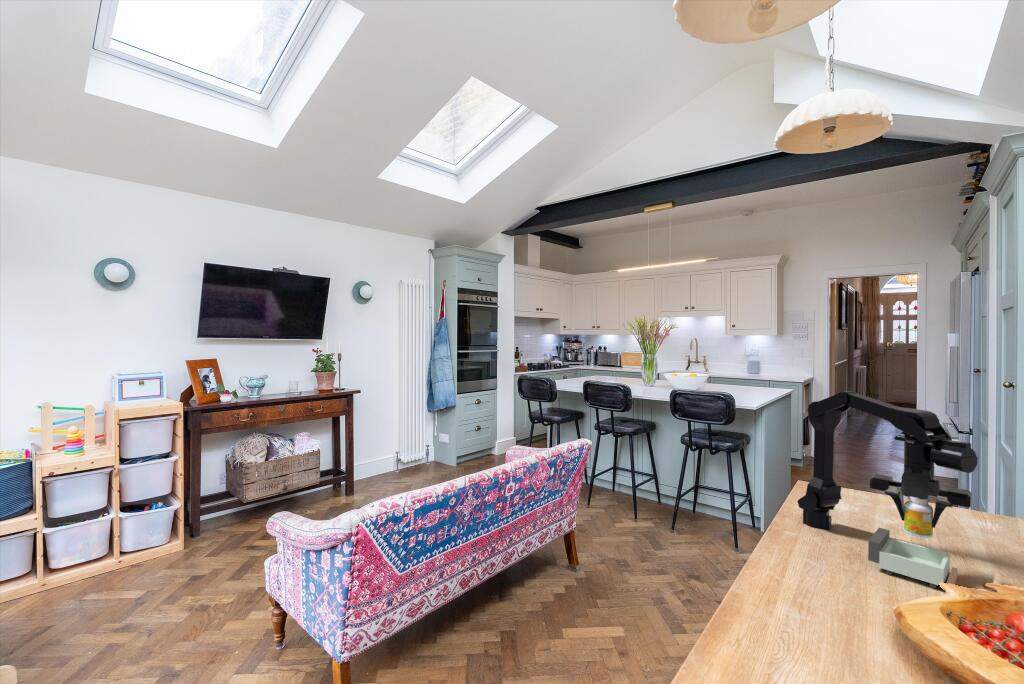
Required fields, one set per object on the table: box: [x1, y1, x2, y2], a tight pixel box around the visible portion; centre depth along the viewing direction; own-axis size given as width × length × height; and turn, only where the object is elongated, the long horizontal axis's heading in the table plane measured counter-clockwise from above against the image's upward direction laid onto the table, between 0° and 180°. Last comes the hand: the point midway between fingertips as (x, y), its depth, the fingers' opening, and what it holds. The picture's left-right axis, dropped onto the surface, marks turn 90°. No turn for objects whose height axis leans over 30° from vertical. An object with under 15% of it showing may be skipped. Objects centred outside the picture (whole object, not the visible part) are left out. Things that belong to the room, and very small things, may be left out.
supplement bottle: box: [903, 495, 934, 539], centre depth 115 cm, size 5×5×10 cm
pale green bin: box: [867, 527, 951, 590], centre depth 114 cm, size 14×12×7 cm
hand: (918, 523), depth 115 cm, fingers closed on supplement bottle, 5 cm apart
